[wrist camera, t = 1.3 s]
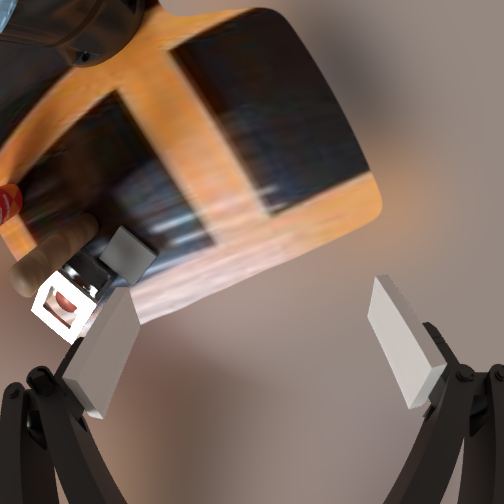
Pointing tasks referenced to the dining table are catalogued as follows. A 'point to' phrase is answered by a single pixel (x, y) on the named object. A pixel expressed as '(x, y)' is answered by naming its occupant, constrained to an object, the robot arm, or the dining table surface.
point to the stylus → (52, 254)
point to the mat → (127, 255)
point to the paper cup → (9, 202)
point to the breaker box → (74, 292)
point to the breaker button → (66, 301)
